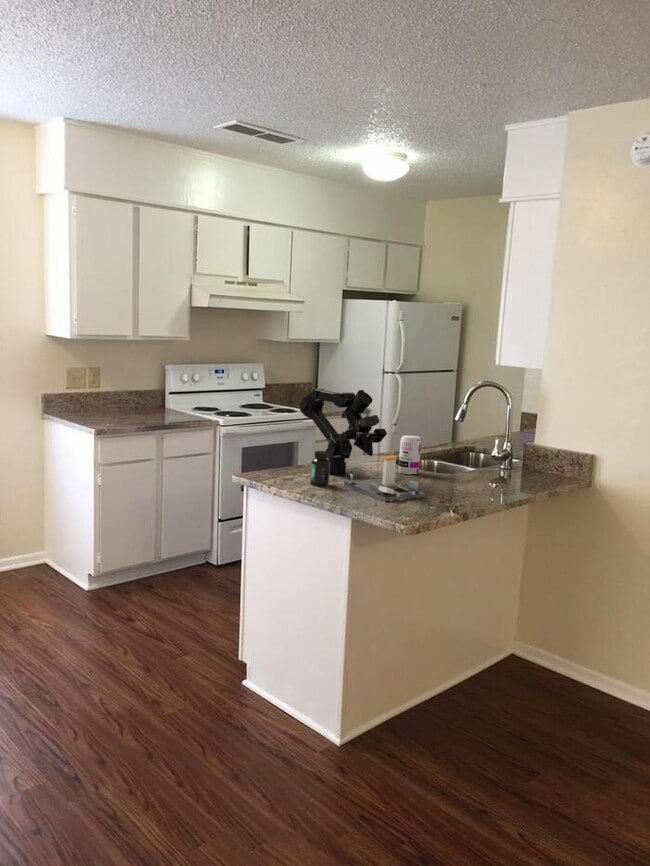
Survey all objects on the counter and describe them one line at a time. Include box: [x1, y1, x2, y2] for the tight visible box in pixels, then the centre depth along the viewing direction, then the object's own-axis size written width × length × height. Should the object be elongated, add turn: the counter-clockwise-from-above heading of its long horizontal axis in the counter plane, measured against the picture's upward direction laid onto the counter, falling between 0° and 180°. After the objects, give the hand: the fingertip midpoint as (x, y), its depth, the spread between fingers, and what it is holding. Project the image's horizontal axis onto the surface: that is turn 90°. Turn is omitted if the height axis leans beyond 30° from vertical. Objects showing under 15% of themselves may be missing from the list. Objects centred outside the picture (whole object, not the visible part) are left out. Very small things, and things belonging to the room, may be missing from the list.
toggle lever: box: [348, 469, 354, 481], centre depth 260 cm, size 1×1×4 cm
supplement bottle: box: [309, 450, 331, 488], centre depth 261 cm, size 7×7×12 cm
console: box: [343, 478, 426, 502], centre depth 257 cm, size 24×18×2 cm
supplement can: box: [397, 434, 422, 475], centre depth 290 cm, size 8×8×15 cm
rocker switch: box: [378, 486, 394, 494], centre depth 247 cm, size 4×3×1 cm
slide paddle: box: [378, 455, 398, 490], centre depth 254 cm, size 5×5×11 cm
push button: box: [407, 480, 419, 490], centre depth 253 cm, size 3×3×2 cm
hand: (371, 455), depth 262 cm, fingers closed
